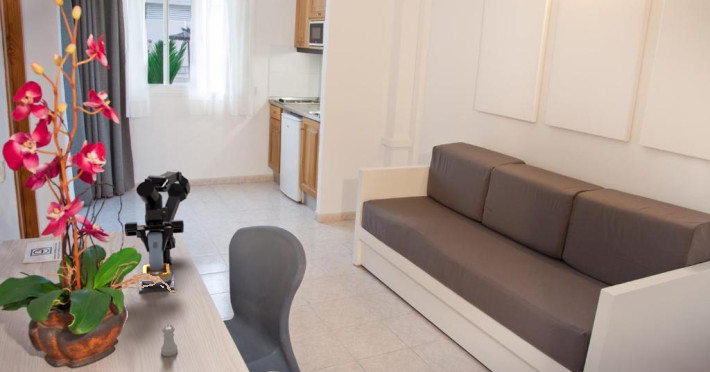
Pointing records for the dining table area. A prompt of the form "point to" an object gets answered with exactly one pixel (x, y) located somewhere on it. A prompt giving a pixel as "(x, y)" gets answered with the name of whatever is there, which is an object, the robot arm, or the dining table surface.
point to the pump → (155, 251)
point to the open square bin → (164, 275)
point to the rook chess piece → (169, 342)
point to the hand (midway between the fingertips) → (155, 251)
